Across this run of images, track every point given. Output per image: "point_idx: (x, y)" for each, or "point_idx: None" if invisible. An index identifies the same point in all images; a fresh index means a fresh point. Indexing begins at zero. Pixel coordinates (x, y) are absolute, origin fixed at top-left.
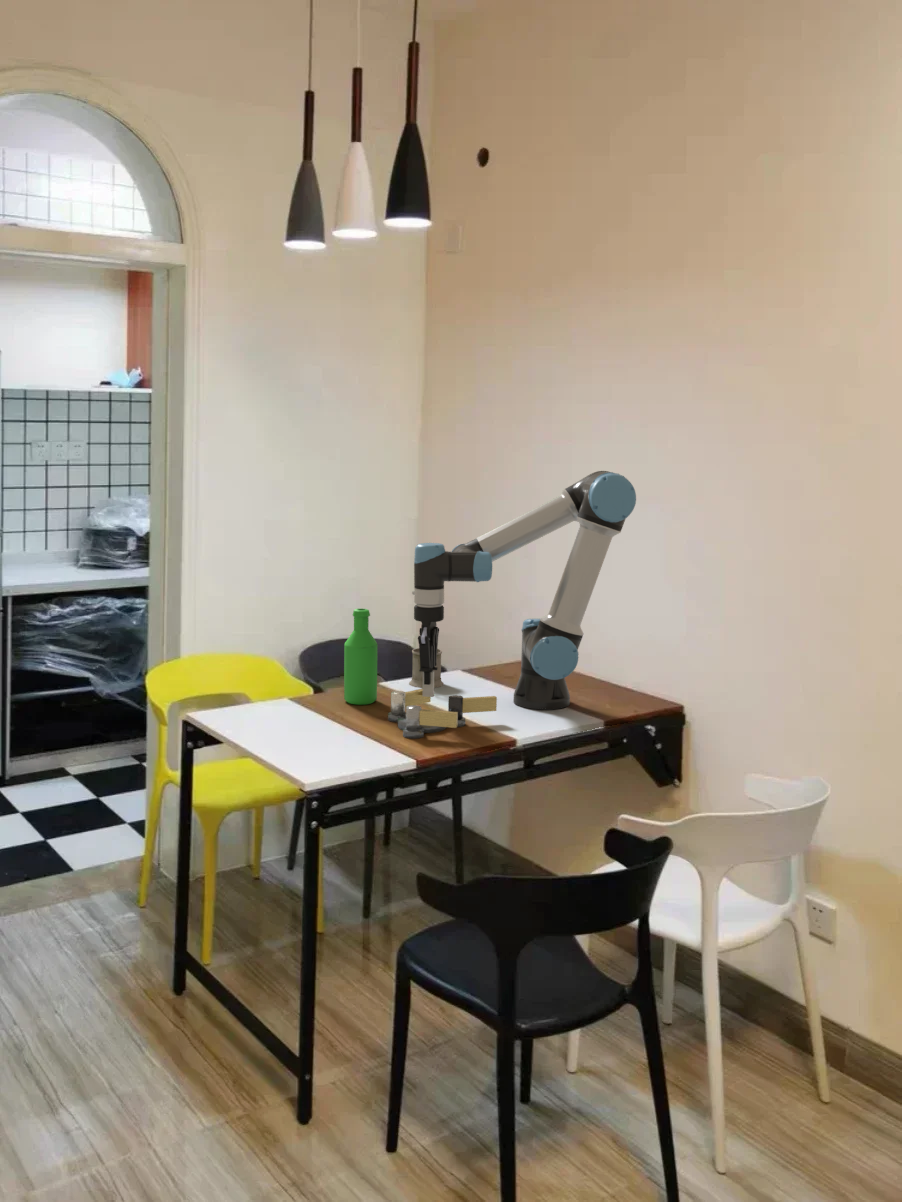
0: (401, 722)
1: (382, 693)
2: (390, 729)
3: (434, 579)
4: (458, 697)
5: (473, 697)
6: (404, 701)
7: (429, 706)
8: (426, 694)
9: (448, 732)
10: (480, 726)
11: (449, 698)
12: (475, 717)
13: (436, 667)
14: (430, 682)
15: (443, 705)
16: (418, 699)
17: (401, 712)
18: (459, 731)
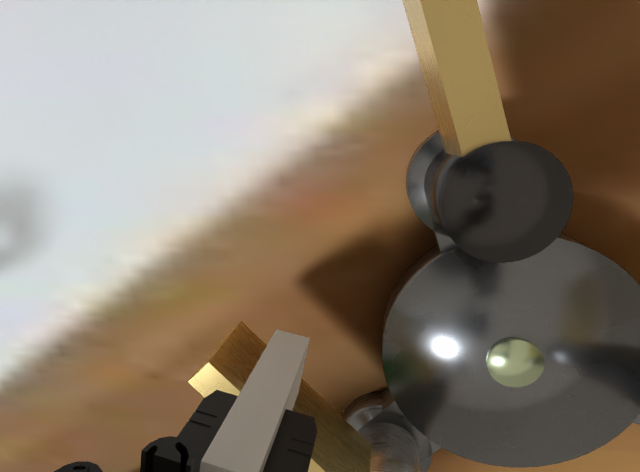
0: (574, 454)
1: (17, 454)
2: (549, 466)
3: None
4: (522, 181)
5: (442, 47)
6: None
7: (151, 296)
8: (300, 380)
9: (625, 214)
10: (500, 30)
11: (531, 254)
12: (309, 69)
13: (147, 462)
14: (282, 417)
15: (121, 235)
16: (297, 398)
17: (414, 450)
18: (608, 154)
